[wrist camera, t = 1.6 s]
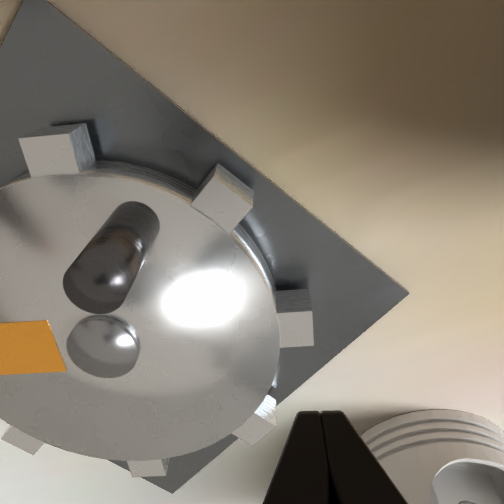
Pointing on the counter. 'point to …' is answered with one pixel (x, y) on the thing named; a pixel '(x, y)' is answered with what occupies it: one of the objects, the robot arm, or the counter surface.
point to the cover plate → (190, 172)
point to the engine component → (441, 456)
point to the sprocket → (134, 309)
